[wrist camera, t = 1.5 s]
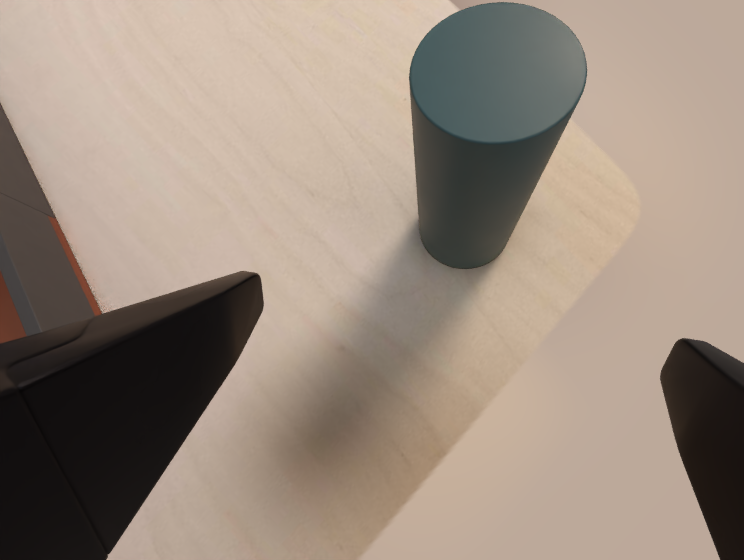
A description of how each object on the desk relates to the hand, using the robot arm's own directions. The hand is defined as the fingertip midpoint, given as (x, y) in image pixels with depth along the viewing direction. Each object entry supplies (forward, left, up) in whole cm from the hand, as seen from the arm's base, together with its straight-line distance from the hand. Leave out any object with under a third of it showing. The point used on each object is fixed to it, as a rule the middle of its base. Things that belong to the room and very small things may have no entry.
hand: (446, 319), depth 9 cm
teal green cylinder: (+5, -6, -13) cm, 16 cm away
